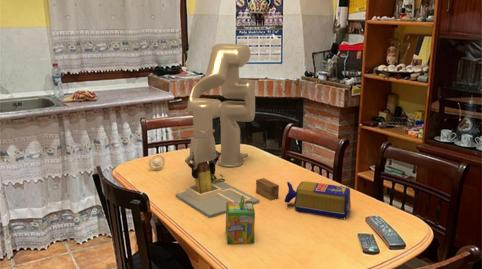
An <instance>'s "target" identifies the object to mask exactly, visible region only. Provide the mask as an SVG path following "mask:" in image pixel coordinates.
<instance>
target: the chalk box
mask: <svg viewBox="0 0 482 269" xmlns="http://www.w3.org/2000/svg"><path fill="white" fill-rule="evenodd" d="M255 219H256V213H255V207H254V204H253V203H252V201H244V197H243V195H242V198H241V201H240V202H226V213H225V235H226V242H227V245H234V244H235V245H237V244H238V245H239V244H241V245H242V244H255V225H256V224H255Z"/></svg>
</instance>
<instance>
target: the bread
mask: <svg viewBox="0 0 482 269" xmlns="http://www.w3.org/2000/svg"><path fill="white" fill-rule="evenodd" d="M286 184H287V188H288V192H287V193H286V195H285V198H284V203H287V204H289V203H290V202H291V201H292V200H293V199H294V203H293V204H294V208H295V211H296V212H301V213H306V214H312V215H318V216H325V217H329V216H330V218H335V217H336V218H337V219H341V218H343V220H345V219H346V218H347V217H348V214H349V213H350V210H351V207H352V205H351V189H350V187H347V186H341V185H335V184H327V183H322V182H315V181H314V182H312V181H301V182H300V183H299V184H298V185H297V187H296V190H295V189H294V188H293V185H292V184H291V183H290V182H289V181H286ZM344 218H345V219H344Z"/></svg>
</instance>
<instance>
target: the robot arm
mask: <svg viewBox="0 0 482 269" xmlns="http://www.w3.org/2000/svg"><path fill="white" fill-rule="evenodd" d="M250 58H251V49H250V46H249V45H247V44H244V43H243V44H241V43H240V44H239V43H238V44H236V43H234V44H233V43H217V44H214V45H213V47H212V49H211V52H210V56H209V60H208V64H207V68H206V72H205V75H204V76H203V77H202V78H201V79H199V80H198V82H196V83H195V84H194V86H193V87H192V88H191V91H190V93H189V97H188V100H187V106H186V107H187V113H188V115H190V116H192V125H193V126H192V128H193V130H192V131H193V133H192V134H193V136H192V137H191V139H190V145H189V156H187V158H185V159H184V162H185V163H186V164H187V166H188V167H189V168H190V169H191V178H194V180H195V179H197V178H198V170H197V169H196V168H197V166H198V164H199V163H202V162H209V161H210V164H209V163H208V165H209V167H210V173H211V174H213V175H215V174H216V165H219V166H221V167H224V168H238V167H241V166H242V165H243V164H244V160H243V159H246V158H248V153H243V152H241V128H240V126H239V123H237V122H249V123H250V122H253V121H254V119H255V115H256V88H255V84H254V81H252V80H251V79H244V78H243V79H242V78H240V68H242V67H244V66H245V65H246V64H248V62H249V61H250ZM220 86H221V94H222V97H224V99H228V100H224V101H221V100H219V99H218V98H216V99H215V98H205V97H204V98H203V97H202V98H200V97H201V95H203V94H204V93H205V92H209V91H210V90H213V89H216V88H218V87H220ZM229 99H230V100H229ZM236 100H237V101H236ZM238 100H243V101H238ZM216 118H219V121H220V152H219V151H218V150H217V149H216V148H217V147H216V141H215V137H214V133H215V132H216V131H215V129H214V128H213V119H216Z"/></svg>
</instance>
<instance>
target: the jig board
mask: <svg viewBox="0 0 482 269" xmlns="http://www.w3.org/2000/svg"><path fill="white" fill-rule="evenodd" d="M211 186H212V191H209V192H206V193H202V194H200V193H198V192H197V190H196V183H195V184H192V185H188V186H186V187H185V191H182V192H179V193H175V198H176V199H178V200H179V201H182V202H183V203H184V204H186V205H188V206H190V208H193V210H196V211H198V212H199V213H200V214H202V215H204V216H205V217H207V218H208V219H211V218H215V217H218V216H221V215H224V214H225V215H226V202H240V201H241V198H242V195H243V197H244V201H252V203H253V205H255V204H259V203H260V199H259V198H257V197H256V196H255V197H254V196H253V195H252V194H249V193H247V192H245V191H243V190H241V189H239V188H237V187H235V186H233V185H231V184H229V183H227V182H220V183H215V184H212V183H211Z"/></svg>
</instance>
